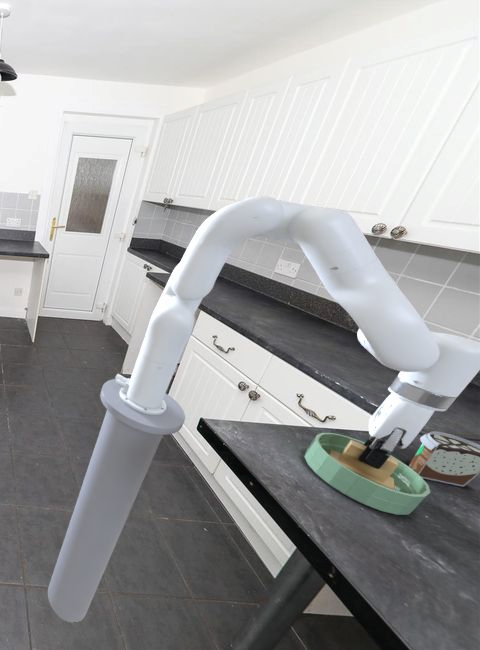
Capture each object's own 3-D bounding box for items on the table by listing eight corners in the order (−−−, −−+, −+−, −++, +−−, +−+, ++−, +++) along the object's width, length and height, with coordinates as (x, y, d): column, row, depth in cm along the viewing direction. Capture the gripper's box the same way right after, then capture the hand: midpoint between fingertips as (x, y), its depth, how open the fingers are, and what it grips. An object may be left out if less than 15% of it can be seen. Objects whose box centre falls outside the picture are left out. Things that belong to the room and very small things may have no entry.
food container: (442, 467, 82) (470, 436, 78) (471, 488, 76) (503, 456, 73) (384, 455, 84) (408, 424, 80) (408, 475, 78) (436, 443, 74)
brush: (323, 466, 77) (341, 442, 74) (325, 456, 80) (342, 433, 77) (388, 498, 70) (410, 473, 67) (387, 486, 73) (408, 461, 70)
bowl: (299, 473, 75) (312, 453, 73) (307, 440, 86) (319, 423, 84) (415, 533, 64) (435, 513, 62) (407, 487, 75) (424, 468, 72)
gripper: (390, 371, 74) (345, 435, 81) (393, 397, 64) (342, 466, 71) (444, 389, 68) (391, 455, 76) (458, 419, 58) (395, 492, 66)
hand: (368, 460), depth 73 cm, fingers closed on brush, 2 cm apart
